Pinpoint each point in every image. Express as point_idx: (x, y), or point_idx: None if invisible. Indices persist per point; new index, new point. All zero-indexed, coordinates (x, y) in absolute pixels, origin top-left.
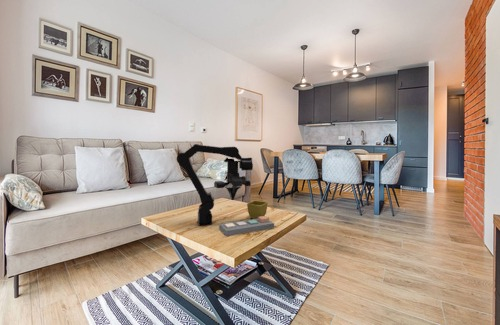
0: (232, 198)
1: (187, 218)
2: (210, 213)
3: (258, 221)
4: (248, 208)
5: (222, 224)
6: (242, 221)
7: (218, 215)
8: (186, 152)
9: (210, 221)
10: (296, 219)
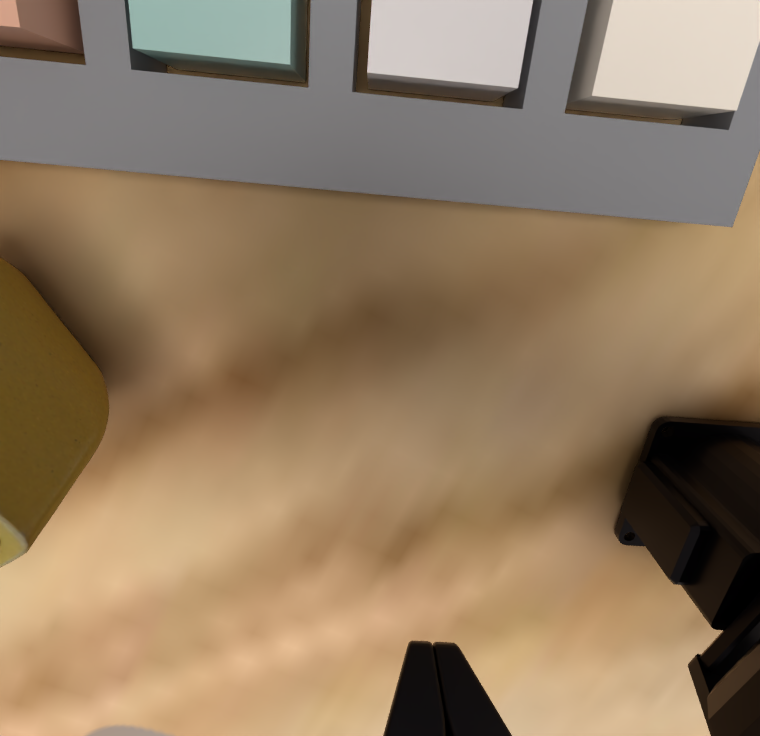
0: (462, 682)
1: None
2: (740, 533)
3: (68, 14)
4: (62, 459)
5: (713, 176)
6: (390, 72)
7: (428, 631)
8: None
9: (667, 460)
10: None
